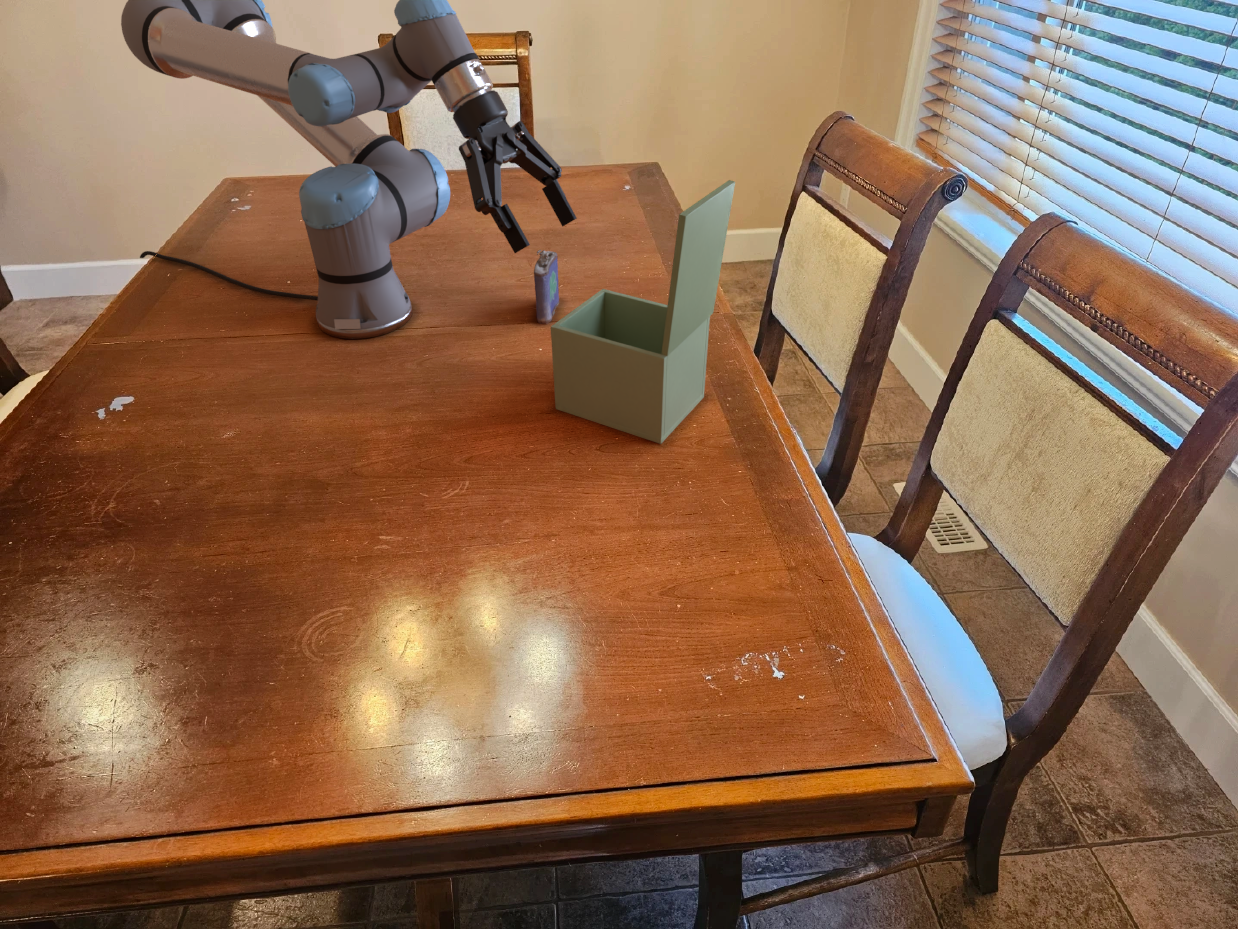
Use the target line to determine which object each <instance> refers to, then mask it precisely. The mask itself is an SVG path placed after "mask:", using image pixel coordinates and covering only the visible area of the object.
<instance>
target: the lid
mask: <svg viewBox="0 0 1238 929" xmlns="http://www.w3.org/2000/svg"><path fill="white" fill-rule="evenodd" d="M735 186H736V181H734V180H731V179H728V180H727V181H725V182H724V183H722V184H721V185H719V186H718V187H717V188H715V189H713V190H712V191H711V192H709V193H707V195H705V196H704V197H702V198H700V200H698V201H696V202H695V203H693V204H692V205H691V206H689V207H688V208H686V209H685V210H683V211H681V213H679V214H678V219H677V229H676V236H675V237H676V238H675V245H674V252H673V260H672V266H671V277H670V284H669V290H668V300H667V305H668V306H667V314H666V322H665V330H664V338H663V346H662V354H663V355H665V356H668V355H669V354H670V353H671V352H672V351H674V350H675V349H676V348H677V347H678V346H679V345H680V344H681V343H682V342H683V341H684V340H685V339H686V338H687V337H688V336H689V335H691V334H692V333H693V332H694V331H695V330H696V329H697V328H698V327H699V326H700V325H701V324H702V323H703V322H704V321H705V320H707V319H708V318H709V317H710V318H711V316H712V315H713V314H714V310H715V305H716V300H717V292H718V287H719V283H720V282H719V281H720V275H721V269H722V263H723V257H724V251H725V246H726V241H727V235H728V234H727V233H728V228H729V223H730V222H729V221H730V216H731V211H732V205H733V199H734V193H735Z"/></svg>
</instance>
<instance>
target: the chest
mask: <svg viewBox="0 0 1238 929" xmlns="http://www.w3.org/2000/svg"><path fill="white" fill-rule="evenodd" d="M667 306H668V304H664V303H662V302H661V303H660V302H657V301H653V300H649V299H646V298H641V297H637V296H633V295H631V294H630V295H629V294H625V293H622V292H617V291H613V290H609V289H606V288H602V289H600V290H599V291H597V292H596V293H595V294H593V295H592V296H590V297H589V298H588V299H586V300H585V301H584V302H582V303H581V304H579V306H576V307H575V308H574V309H573V310H571V311H570V312H569V313H567V314H566V315H564V316H562V317H561V318H560V319H559V320H557V321H556V322H554V324H552V325H551V326H550V338H551V340H550V341H551V356H552V370H553V372H552V373H553V385H554V386H553V390H554V404H555V405H554V406H555V410H557V411H560V412H564V413H566V414H570V415H571V416H572V415H573V416H576V417H578V418H581V419H585V420H588V421H591V422H592V423H593V422H594V423H596V424H600V425H602V426H606V427H607V428H611V429H615V430H617V431H621V432H623V433H627V434H630V435H632V436H636V437H638V438H641V439H645V440H646V441H651V442H654V443H656V444H659V445H662V444H663V443H664V441H665V440H666V439H667V438H668V437H669V436H670V435H671V434H672V433H673V432H674V431H675V429H676V428H677V427H678V426H679V425H680V424H681V423H682V422H683V421H684V420H685V418H687V417H688V416H689V414H691V412H692V411H693V410H694V409H695V408H696V407H697V406H698V404H699V403H700V402H701V401H702V400H703V399H704V398H705V389H706V388H705V387H706V377H707V376H706V374H707V361H708V347H709V334H710V322H711V316H710V317H709V318H708V319H707V320H705V321H704V322H703V323H702V324H701V325H700V326H699V327H698V328H697V329H696V330H695V331H694V332H693V333H692V334H691V335H689V336H688V337H687V338H686V339H685V340H684V341H683V342H682V343H681V344H680V345H679V346H678V347H677V348H676V349H675V350H674V351H672V352H671V353H670V354H669V355H668V356H665V355H663V354H662V346H663V338H664V330H665V322H666V314H667Z"/></svg>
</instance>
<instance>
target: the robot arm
mask: <svg viewBox="0 0 1238 929" xmlns="http://www.w3.org/2000/svg"><path fill="white" fill-rule="evenodd" d="M265 8H266V4H265V3H264V2H263V0H127V1H126V3H125V5H124V7H123V9H122V13H121V17H120V26H121V32H122V36H123V39H124V41H125V43H126V45H127V47H128V49H129V51H130V52H131V53H132V54H133V56H134V58H136V59H137V60H138V61H139V62H141V63H142V64H143V65H144V66H146V68H149V69H151V70H153V71H154V72H157V73H158V74H162V75H165V76H169V77H172V78H176V79H184V80H185V79H189V78H192V77H196V78H199V79H202V80H206V81H209V82H212V83H215V84H219V85H222V86H225V87H229V88H231V89H234V90H239V91H241V92H245V93H248V94H252V95H255V96H257V97H258V98H259V99H260V100H261V101H263V102H264V103H265V104H266V105H267V106H268V107H269V108H270V109H271V110H272V111H274V112H275V113H276V114H277V115H278V116H279V117H280V118H281V119H283V121H285V122H286V123H287V124H288V125H289V126H290V127H291V128H292V129H294V131H296V133H297V134H299V135H300V136H301V137H302V138H303V139H305V141H307V142H308V143H309V144H310V145H311V146H312V147H313V148H314V149H315V150H316V151H317V152H319V153H320V154H321V155H322V156H323V157H324V158H325V159H326V160H327V161H328V162H330V163H331V164H332V165H333V166H332V165H330V166H328V167H324V168H322V169H319V170H316V171H315V172H313V173H312V174H310V175H309V176H307V177H306V178H305V179H304V180H303V182H302V183H301V185H300V187H299V190H298V197H299V204H300V208H301V209H300V214H301V218H302V221H303V222H304V227H305V230H306V234H307V237H308V241H309V244H310V245H309V246H310V249H311V253H312V257H313V261H314V265H315V269H316V273H317V277H318V288H317V295H309V294H301V293H292V292H285V291H279V290H272V289H268V288H267V289H266V288H261V287H258V286H254V285H251V284H249V283H245V282H243V281H239V280H237V279H235V278H231V277H229V276H227V275H224V274H223V273H220V272H218V271H216V270H213V269H210V268H209V267H206V266H203V265H201V264H198V263H196V262H192V261H189V260H185V259H182V258H178V257H174V256H169V255H163V254H160V253H158V252H155V251H151V250H146V251H142V253H141V254H140V255H139V258H140V259H144V258H146V256H152V257H155V258H158V259H161V260H165V261H169V262H174V263H178V264H183V265H186V266H189V267H192V268H195V269H198V270H200V271H203V272H206V273H208V274H210V275H213V276H215V277H217V278H219V279H222V280H224V281H226V282H228V283H231V284H233V285H236V286H239V287H242V288H244V289H247V290H251V291H254V292H256V293H257V292H258V293H262V294H266V295H272V296H278V297H284V298H292V299H299V300H300V299H301V300H309V301H317V304H316V306H315V318H316V322H317V326H318V328H319V330H321V331H322V332H323V333H325V334H327V335H328V336H332V337H335V338H340V339H350V340H355V339H360V340H361V339H368V338H374V337H379V336H383V335H386V334H390V333H391V332H394V331H396V330H398V329H400V328H401V327H403V326H405V325H406V324H407V323H408V322H409V321H410V320H411V318H412V316H413V307H412V302H411V299H410V296H409V295H408V293H407V292H406V290H405V287H403V283H402V282H401V280H400V279H399V276H398V275H397V273H396V271H395V270H394V266H393V261H392V260H393V259H392V255H391V249H390V244H393V243H395V242H397V241H398V240H400V239H402V238H405V237H406V236H409V235H410V234H413V233H414V232H417V231H419V230H420V229H423V228H426V227H429V226H431V225H432V224H433V223H434V222H435V221H437V220H439V219H440V218H442V217H443V216H444V214H446V212H447V210H448V208H449V205H450V200H451V186H450V184H449V177H448V174H447V172H446V169H445V167H444V166H443V164H442V163H441V161H440V160H439V159H438V157H437V156H436V155H434V153H432V152H431V151H429V150H427V149H425V148H411V149H409V150H408V148H406V147H405V146H404V145H403V144H402V143H401V142H400V141H399V140H397V139H396V138H395V137H394V136H393V135H392V134H390V133H389V134H388V133H382V134H377V133H376V132H375V131H374V130H373V129H372V128H371V127H369V126H368V125H367V124H366V123H365V122H364V121H363V120H362V119H361V118H359V116H362V115H366V114H367V113H371V112H374V111H378V112H384V113H386V114H392V113H395V112H397V111H399V110H400V109H401V108H403V107H405V106H408V105H409V104H410V103H411V102H412V100H413V99H414V98H415V97H416V96H417V95H418V94H419V93H420V92H421V91H422V90H424V88H425V87H427V86H428V85H429V84H430V83H431V82H432V84H433V85H434V88H435V90H436V92H437V94H438V95H439V98H441V100H442V102H443V104H444V106H445V108H446V109H447V112H450V113H453V115H452V116H453V117H452V119H453V121H454V124H455V125H456V127H457V128H458V130H459V132H460V134H461V136H462V138H464V139H466V141H464V142H463V143H461V144H460V145H459V146H458V151H459V153H460V155H461V157H462V159H463V161H464V165H465V169H466V175H467V179H468V184H469V188H470V193H471V197H472V201H473V206H474V209H475V211H476V212H477V213H481V214H482V215H484V216H488V215H489V214H490V216H491V218H492V219H493V221H494V224H496V227H497V228H498V230H499V231H500V232H501V233H502V234H503V235H504V237H505V239H506V241H507V242H508V244H509V246H510V248H511V249H512V251H513V253H514V254H517V253H518V252H521V251H522V250H523V249H525V248H527V247H529V246H530V245H531V244H530V242H529V240H528V239H527V236H526V235H525V233H524V231H523V229H522V227H521V226H520V224H519V223H518V220H517V219H516V217H515V215H514V213H513V211H512V210H511V208H510V206H509V205H508V203H504V204H503V199H502V198H503V196H502V194H503V193H502V170H501V169H502V165H503V164H505V165H506V164H508V163H509V164H515V165H517V166H518V167H519V168H521V169H522V170H523V171H525V172H526V173H527V174H529V175H530V176H531V177H533V178H534V179H535V180H537V181H538V182H539V183H541V184H542V185H543V186H544V187H542V188H541V190H542V192H543V193H544V196H545V198H546V199H547V201H548V203H549V205H550V206H551V209H552V210H553V212H554V214H555V215H556V217H557V220H558V222H559V223H560V225H561V227H565V226H566V225H568V224H570V223H572V222H573V221H576V220H577V219H578V217H577V215H576V214H575V211H574V209H573V208H572V207H571V204H570V203H569V201H568V199H567V196H566V193H565V192H564V190H563V188H562V187H561V185H560V183H559V181H558V179H559V178H561V177H562V172H563V170H562V167H561V166H560V164H558V163H557V161H556V160H554V158H553V157H552V156H551V155H550V154H549V153H548V152H547V150H546V149H545V148H544V147H543V146H542V145H541V144H540V142H538V141H537V140H536V138H535V137H533V135H532V134H531V133H530V132H529V130H528V129H527V127H526V125H525V124H524V122H523V121H521V120H518V122H516V123H514V124H513V125H512V126H510V125H509V123H508V122H507V117H508V115H509V110H508V109H507V107H506V105H505V103H504V101H503V99H502V98H501V96H500V94H499V92H498V91H496V90H493V88H494V83H493V81H492V80H491V78H490V76H489V74H488V73H487V71H486V69H485V67H484V65H483V64H482V62H481V60H480V57H479V56H478V54H477V53H476V51H475V50H474V48H473V46H472V44H471V42H470V40H469V37H468V36H467V33H466V32H465V29H464V27H463V26H462V23H461V22H460V19H459V18H458V16H457V12H456V11H455V10H454V9H453V7H452V6H451V4H450V3H449V1H448V0H398V1H397V2H396V5H395V7H394V10H393V12H394V17H395V18H396V20H397V25H398V26H399V27H400V29H399V30H398V31H397V32H396V33H395V35H394V36H393V37H392V38H391V39H390V40H388V41H387V43H385V44H384V45H383V46H381V47H378V48H374V49H370V50H367V51H362V52H358V53H354V54H349V55H346V56H341V57H336V58H330V57H325V56H322V55H318V54H314V53H311V52H308V51H304V50H301V49H297V48H293V47H289V46H287V45H282V44H279V43H277V36H276V32H275V30H274V26H273V21H272V18H271V15H270V13H269V12H266V11H265ZM156 254H157V255H156ZM155 255H156V256H155Z"/></svg>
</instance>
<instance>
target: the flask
mask: <svg viewBox="0 0 1238 929" xmlns="http://www.w3.org/2000/svg"><path fill="white" fill-rule="evenodd" d="M536 255H537V256H538V255H539V257H538V259H537V260H536V262H535V264H534V268H533V275H534V276H533V278H534V292H535V307H536V308H535V310H536V321H537V323H538V324H540V325H543V324H546V325H548V324H549V323H550V322H552V320H553V317H554V315H555V314H556V311H555V310H557V307H559V304H560V295H559V289H560V288H559V264H558V262H559V261H558V257H559V256H558V253H557V252H555V251H551V250H547V251H546V250H544V249H543V250H542V249H539V250H537V251H536Z"/></svg>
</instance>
